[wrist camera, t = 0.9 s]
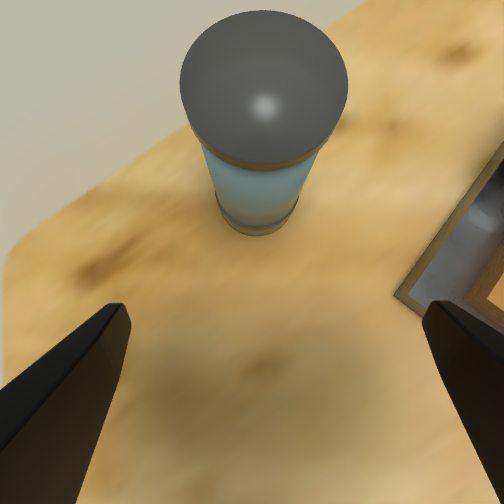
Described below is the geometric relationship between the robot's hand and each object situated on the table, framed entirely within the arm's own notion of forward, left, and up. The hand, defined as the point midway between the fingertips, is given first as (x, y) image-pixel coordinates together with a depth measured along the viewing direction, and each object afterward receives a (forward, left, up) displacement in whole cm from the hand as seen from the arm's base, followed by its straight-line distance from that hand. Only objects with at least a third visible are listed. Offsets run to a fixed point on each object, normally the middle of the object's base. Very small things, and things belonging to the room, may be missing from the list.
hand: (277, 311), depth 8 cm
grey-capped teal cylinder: (+8, +3, -14) cm, 16 cm away
